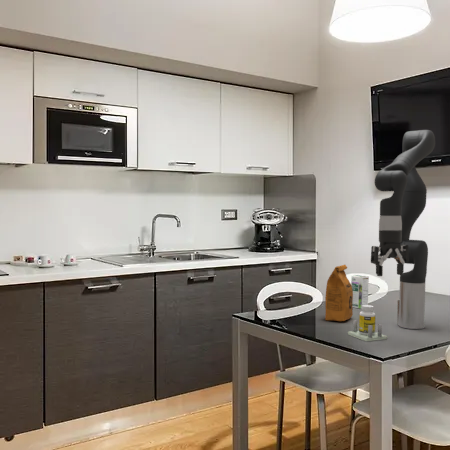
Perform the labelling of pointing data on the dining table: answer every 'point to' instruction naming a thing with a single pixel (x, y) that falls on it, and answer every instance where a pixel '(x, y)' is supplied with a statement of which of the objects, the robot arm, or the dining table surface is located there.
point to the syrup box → (359, 290)
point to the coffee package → (338, 296)
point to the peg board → (368, 337)
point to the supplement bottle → (366, 319)
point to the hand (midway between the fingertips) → (389, 275)
